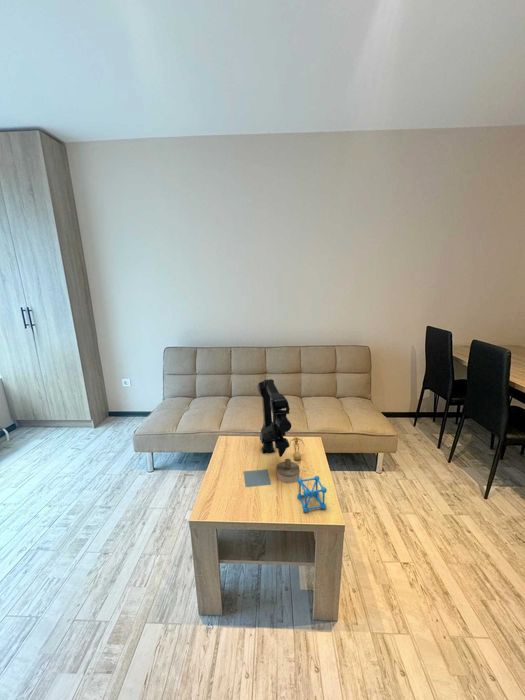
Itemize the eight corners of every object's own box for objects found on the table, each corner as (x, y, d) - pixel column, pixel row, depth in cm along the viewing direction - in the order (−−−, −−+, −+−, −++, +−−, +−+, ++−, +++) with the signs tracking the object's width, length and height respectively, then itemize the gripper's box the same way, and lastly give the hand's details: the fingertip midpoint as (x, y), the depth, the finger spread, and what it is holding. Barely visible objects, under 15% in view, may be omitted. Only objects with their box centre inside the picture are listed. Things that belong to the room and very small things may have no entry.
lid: (274, 464, 149) (274, 455, 148) (296, 462, 150) (296, 453, 149) (278, 477, 138) (278, 468, 137) (302, 475, 140) (302, 466, 139)
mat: (243, 472, 149) (243, 471, 149) (267, 470, 151) (267, 469, 151) (245, 488, 138) (245, 487, 138) (271, 485, 139) (271, 484, 139)
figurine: (290, 462, 157) (290, 441, 155) (288, 455, 163) (288, 435, 161) (305, 461, 158) (306, 440, 156) (303, 454, 164) (303, 434, 161)
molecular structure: (327, 510, 124) (327, 488, 121) (303, 514, 122) (304, 492, 119) (317, 494, 133) (318, 474, 131) (296, 497, 131) (296, 477, 129)
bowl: (276, 471, 149) (276, 464, 148) (295, 470, 150) (295, 462, 150) (279, 484, 140) (279, 477, 139) (300, 482, 141) (300, 475, 140)
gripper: (259, 414, 151) (259, 442, 154) (265, 433, 133) (265, 464, 136) (280, 413, 152) (280, 440, 156) (289, 431, 134) (289, 461, 138)
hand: (278, 451), depth 147 cm, fingers open, 9 cm apart
